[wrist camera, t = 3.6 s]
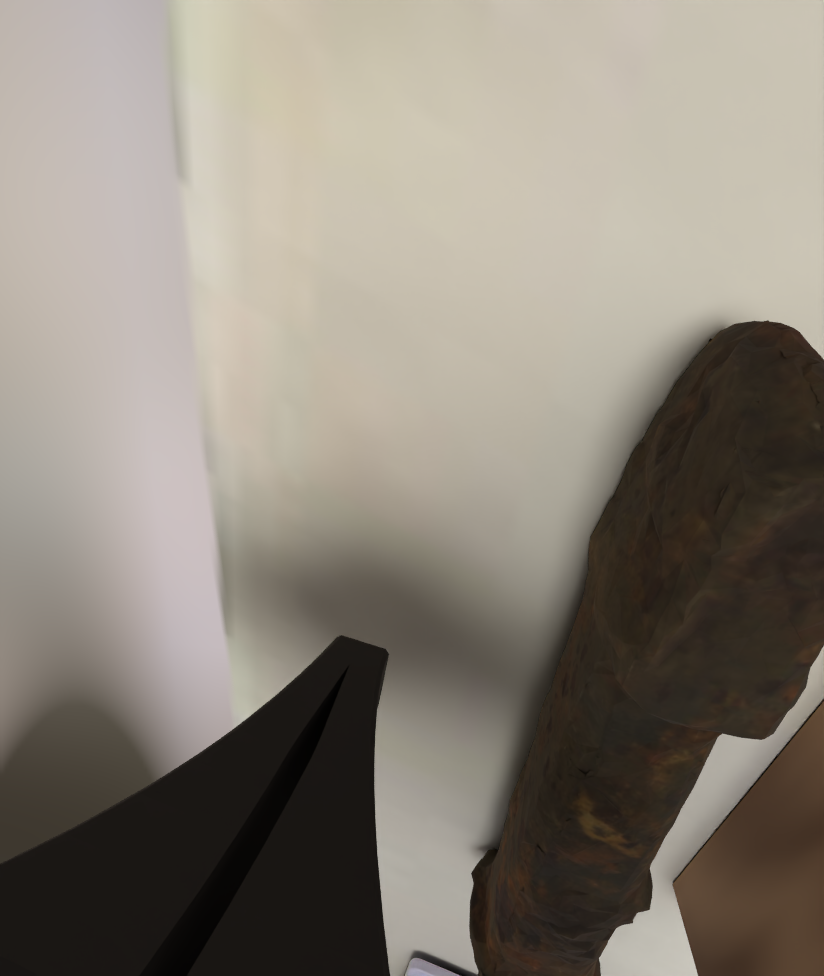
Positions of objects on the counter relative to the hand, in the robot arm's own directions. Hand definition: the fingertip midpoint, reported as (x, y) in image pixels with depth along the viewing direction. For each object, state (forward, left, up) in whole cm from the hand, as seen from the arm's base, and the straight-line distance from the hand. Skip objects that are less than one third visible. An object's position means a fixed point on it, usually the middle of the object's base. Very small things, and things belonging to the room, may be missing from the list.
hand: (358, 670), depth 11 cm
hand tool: (0, -6, -2) cm, 6 cm away
